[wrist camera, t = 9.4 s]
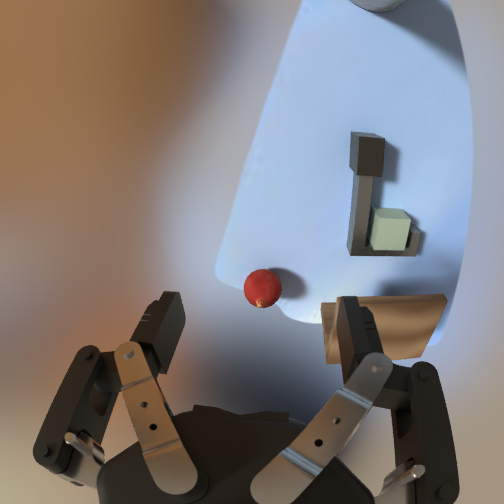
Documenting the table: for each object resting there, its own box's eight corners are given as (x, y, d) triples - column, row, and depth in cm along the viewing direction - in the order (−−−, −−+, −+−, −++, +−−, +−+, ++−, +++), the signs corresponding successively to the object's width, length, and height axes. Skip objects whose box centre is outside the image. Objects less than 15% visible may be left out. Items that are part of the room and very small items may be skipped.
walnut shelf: (327, 251, 44) (338, 304, 33) (417, 252, 42) (447, 300, 31) (320, 309, 50) (326, 364, 39) (401, 307, 48) (420, 357, 37)
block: (371, 206, 39) (379, 218, 36) (401, 208, 39) (410, 219, 35) (367, 236, 42) (373, 249, 38) (395, 237, 41) (404, 250, 38)
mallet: (350, 131, 34) (358, 136, 30) (425, 140, 33) (440, 146, 29) (342, 245, 43) (347, 260, 39) (408, 246, 42) (418, 261, 38)
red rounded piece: (289, 272, 47) (289, 305, 40) (267, 293, 49) (264, 326, 42) (260, 253, 45) (256, 284, 38) (240, 275, 48) (232, 307, 41)
